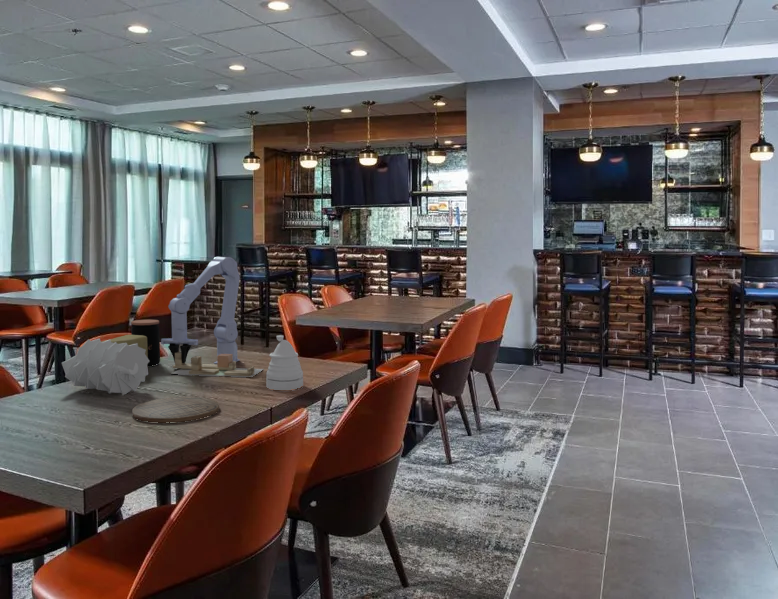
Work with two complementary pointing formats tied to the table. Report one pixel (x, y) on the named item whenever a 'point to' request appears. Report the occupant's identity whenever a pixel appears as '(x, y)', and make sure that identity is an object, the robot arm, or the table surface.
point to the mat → (220, 373)
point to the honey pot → (284, 368)
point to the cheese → (132, 341)
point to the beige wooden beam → (204, 366)
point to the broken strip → (197, 369)
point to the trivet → (175, 409)
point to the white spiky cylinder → (107, 366)
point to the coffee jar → (149, 337)
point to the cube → (224, 360)
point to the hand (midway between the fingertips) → (180, 362)
